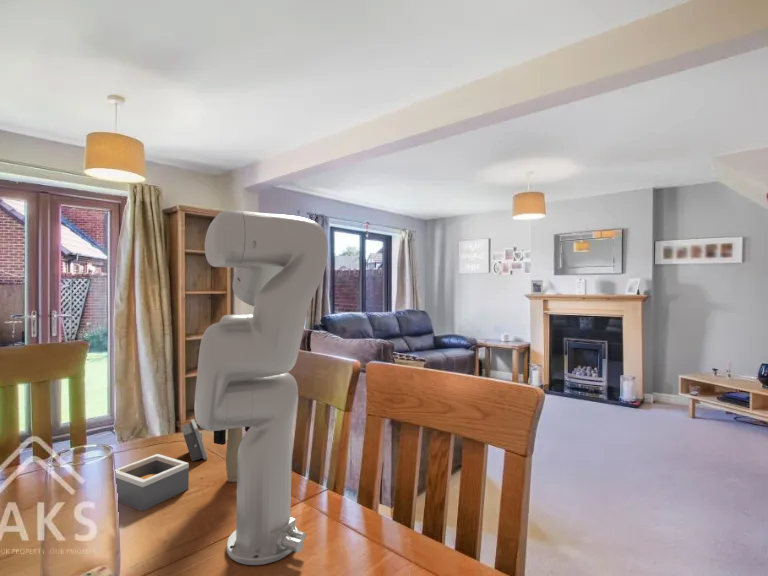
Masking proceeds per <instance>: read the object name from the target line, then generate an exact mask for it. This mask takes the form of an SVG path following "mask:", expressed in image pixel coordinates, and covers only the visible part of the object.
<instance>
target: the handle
mask: <svg viewBox="0 0 768 576" xmlns="http://www.w3.org/2000/svg"><path fill="white" fill-rule="evenodd" d="M226 436H227V437H226V449H225V450H226V452H225V470H226V475H227V477H226V478H227V482H228V483H237V455H238V448H239V445H240V443H241V441H242V439H243V427H241V428H234V429H227V435H226Z"/></svg>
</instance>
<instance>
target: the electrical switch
mask: <svg viewBox="0 0 768 576" xmlns="http://www.w3.org/2000/svg"><path fill="white" fill-rule="evenodd" d="M198 427H199V426H198V424H197V421H196V419H195V418H193V419H190V422H189V423H188V424H186V425H183V426H180V428H181V431H182V435H183V437H184V438H183V439H184V441H185V444H186V447H187V451H188V453H189V456H190V459H191V462H195V461H197V460H200V459H203V461H205V460H208V454H207V452H206V448H205V445H204V442H203V433H202V431H200V429H199V428H198Z"/></svg>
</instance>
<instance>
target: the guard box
mask: <svg viewBox="0 0 768 576" xmlns="http://www.w3.org/2000/svg"><path fill="white" fill-rule="evenodd" d="M189 465H190V464H189V462H186V461H183V460H180V459H177V458H173V457H169V456H166V455H163V454H160V453H155V454H153V455H151V456H148V457H145V458H143V459H140V460H137V461H135V462H132V463H129V464H126V465H124V466H121V467H119V468H116V469H114V470H115V471H116V484H117V493H118V501H117V503H121V504H122V505H124V506H128V507H130V508H133V509H136V510H138V511H141V512H144V511H147V510H148V509H151V508H152V507H155V506H157V505H159V504H160V503H162V502H165V501H167V500H169V499H171V498H173V497H175V496H177V495H179V494H181V493H184V492H185V491H187V490H189V479H190V478H189V474H190V473H189V472H190V469H189V468H190V466H189ZM150 474H156V475H154V476H151V477H149V478H147V479H142V478H140V477H143V476H146V475H150Z"/></svg>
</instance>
